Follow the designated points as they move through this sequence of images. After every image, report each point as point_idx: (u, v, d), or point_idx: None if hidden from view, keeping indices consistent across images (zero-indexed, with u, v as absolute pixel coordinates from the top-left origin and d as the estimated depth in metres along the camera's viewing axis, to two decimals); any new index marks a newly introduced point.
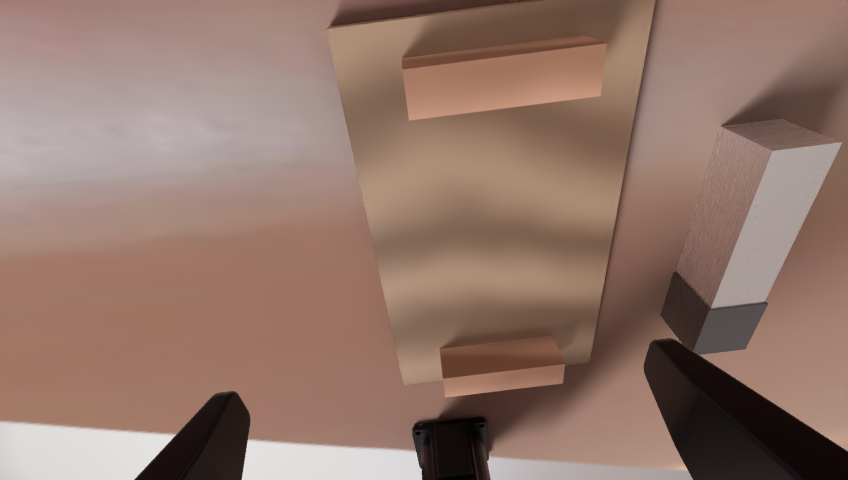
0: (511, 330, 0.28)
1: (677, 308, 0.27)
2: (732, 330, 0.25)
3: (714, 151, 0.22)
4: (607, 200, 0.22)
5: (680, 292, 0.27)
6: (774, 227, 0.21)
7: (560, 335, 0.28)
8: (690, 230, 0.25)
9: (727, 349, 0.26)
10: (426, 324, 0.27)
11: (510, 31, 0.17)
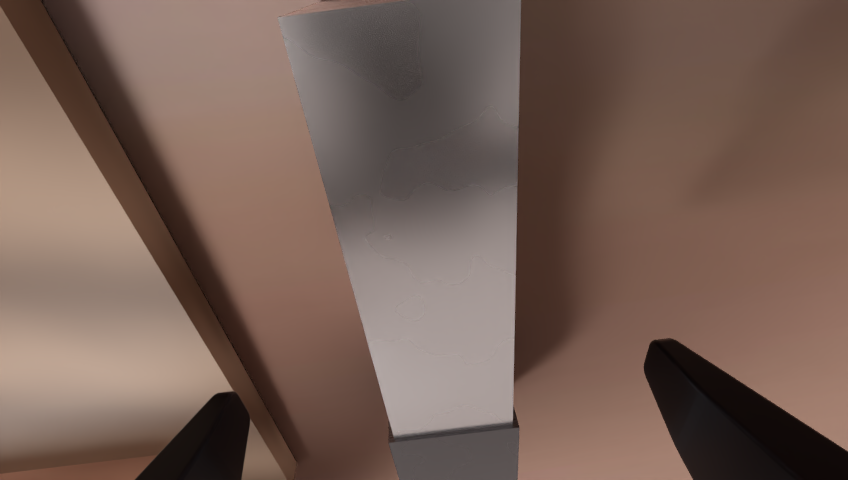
0: (93, 446, 0.14)
1: None
2: (468, 472, 0.12)
3: None
4: (84, 195, 0.09)
5: None
6: (439, 267, 0.08)
7: None
8: None
9: None
10: None
11: None
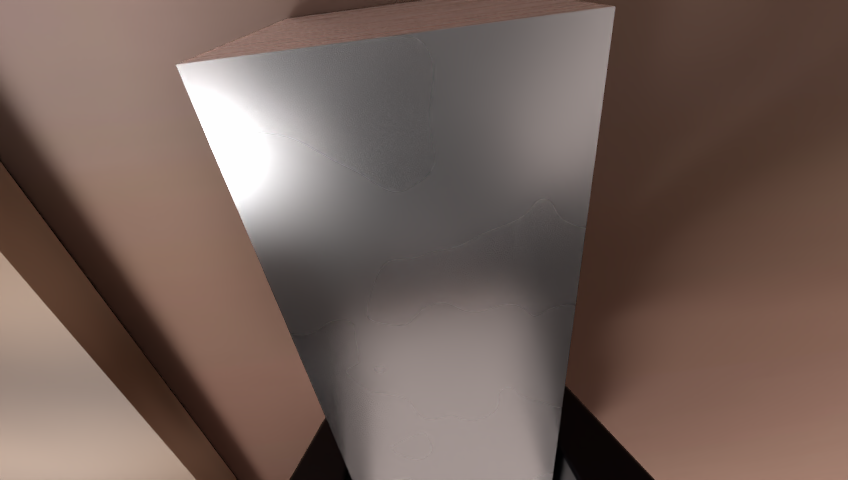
0: None
1: None
2: None
3: None
4: None
5: None
6: (454, 402, 0.05)
7: None
8: None
9: None
10: None
11: None
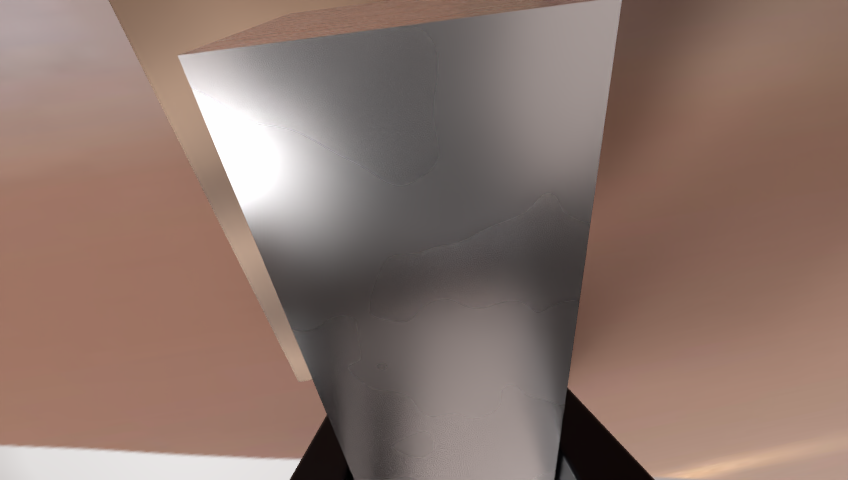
0: None
1: None
2: None
3: None
4: None
5: None
6: (457, 399, 0.05)
7: None
8: None
9: None
10: None
11: None
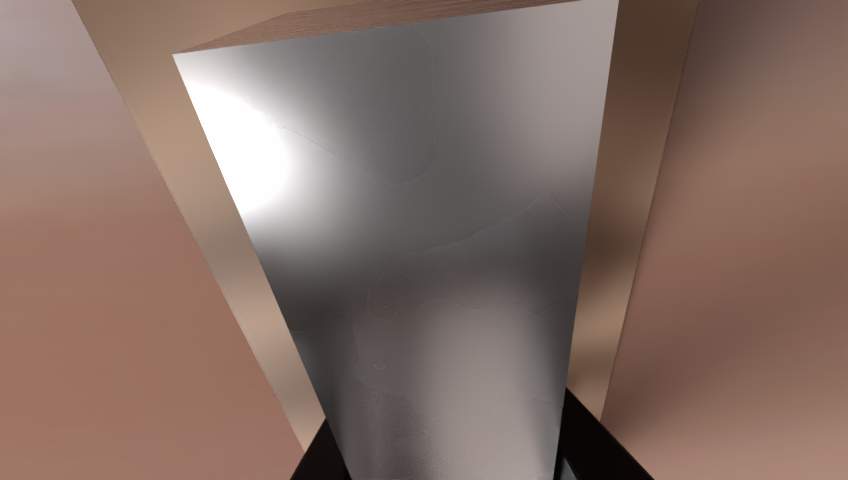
0: None
1: None
2: None
3: None
4: (638, 164, 0.12)
5: None
6: (455, 400, 0.05)
7: None
8: None
9: None
10: None
11: None
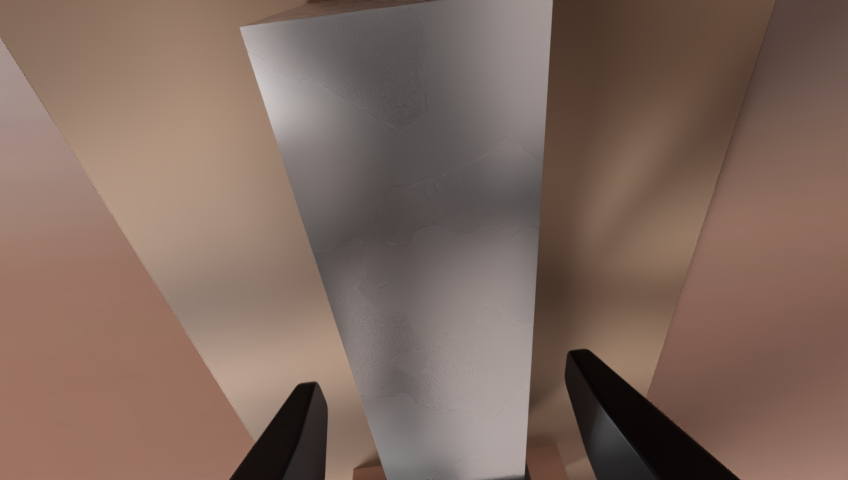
0: None
1: None
2: None
3: None
4: (683, 203, 0.10)
5: None
6: (444, 318, 0.07)
7: (570, 445, 0.16)
8: None
9: None
10: None
11: None
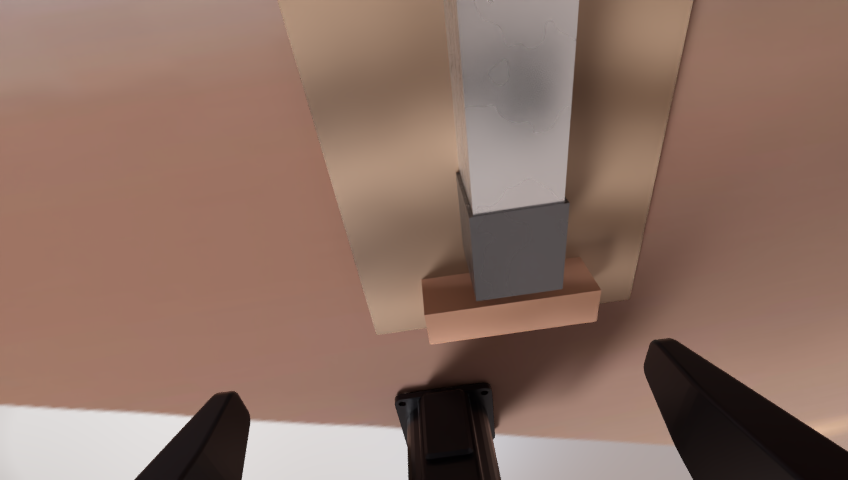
0: None
1: (464, 229, 0.17)
2: (526, 255, 0.15)
3: None
4: (672, 11, 0.14)
5: (460, 200, 0.17)
6: (523, 31, 0.11)
7: (590, 257, 0.20)
8: None
9: (532, 290, 0.16)
10: (399, 240, 0.19)
11: None
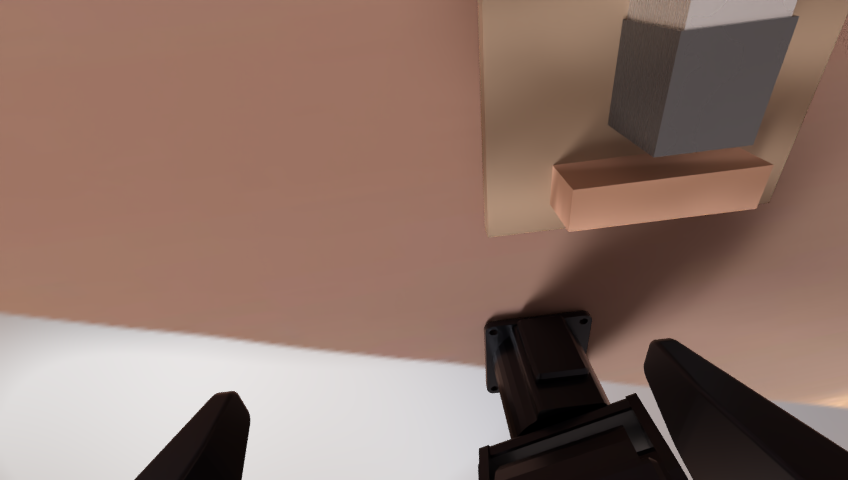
0: None
1: (630, 84, 0.15)
2: (728, 92, 0.13)
3: None
4: None
5: (633, 46, 0.15)
6: None
7: None
8: None
9: (719, 145, 0.14)
10: (541, 110, 0.17)
11: None
